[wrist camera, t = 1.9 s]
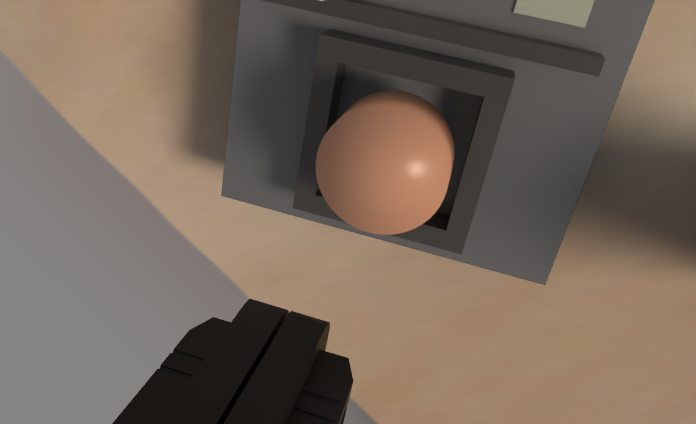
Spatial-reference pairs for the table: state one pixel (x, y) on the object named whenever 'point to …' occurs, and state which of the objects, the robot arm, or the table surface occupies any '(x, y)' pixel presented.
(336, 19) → the switch panel
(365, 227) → the terracotta button
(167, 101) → the table surface
